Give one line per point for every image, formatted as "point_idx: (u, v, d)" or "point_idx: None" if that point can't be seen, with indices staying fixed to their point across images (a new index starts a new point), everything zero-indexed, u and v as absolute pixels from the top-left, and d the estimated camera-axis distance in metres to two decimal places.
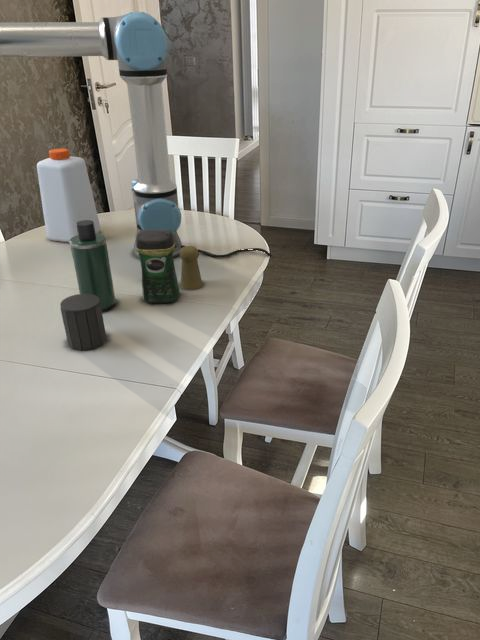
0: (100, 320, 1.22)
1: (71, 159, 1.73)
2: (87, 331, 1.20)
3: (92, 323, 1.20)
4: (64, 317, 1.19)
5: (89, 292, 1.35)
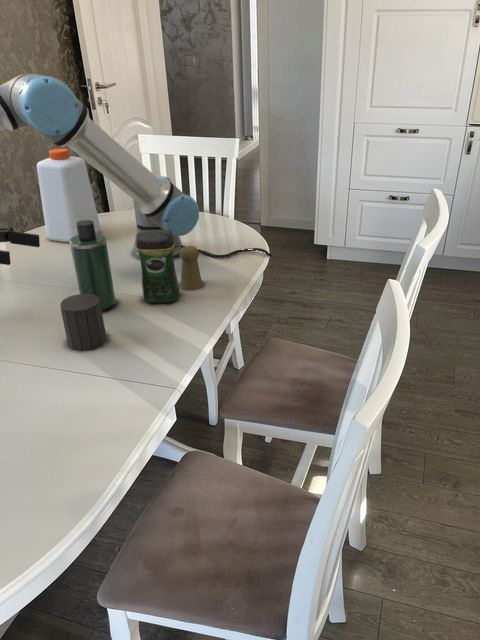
0: (100, 320, 1.22)
1: (71, 159, 1.73)
2: (87, 331, 1.20)
3: (92, 323, 1.20)
4: (64, 317, 1.19)
5: (89, 292, 1.35)
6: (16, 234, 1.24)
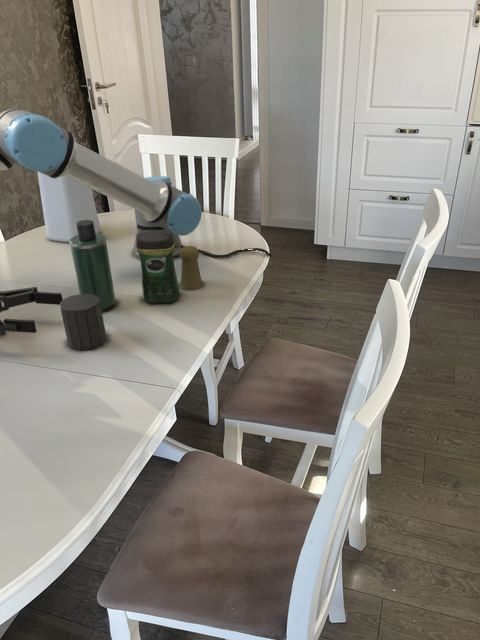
0: (100, 320, 1.22)
1: None
2: (87, 331, 1.20)
3: (92, 323, 1.20)
4: (64, 317, 1.19)
5: (89, 292, 1.35)
6: (40, 294, 1.28)
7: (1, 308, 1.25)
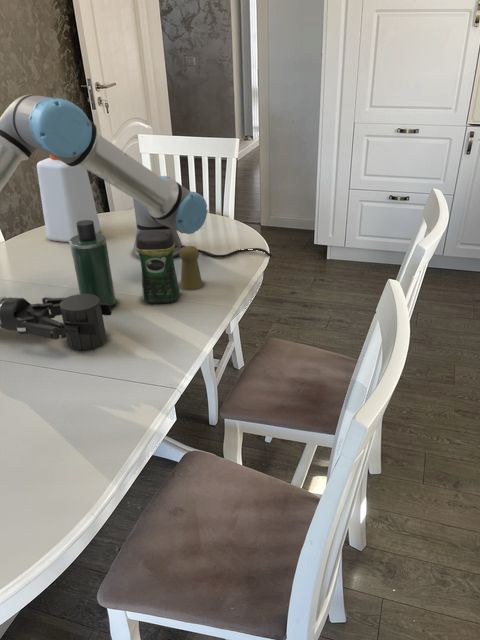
0: (100, 320, 1.22)
1: None
2: None
3: None
4: (64, 317, 1.19)
5: (89, 292, 1.35)
6: None
7: (48, 314, 1.25)
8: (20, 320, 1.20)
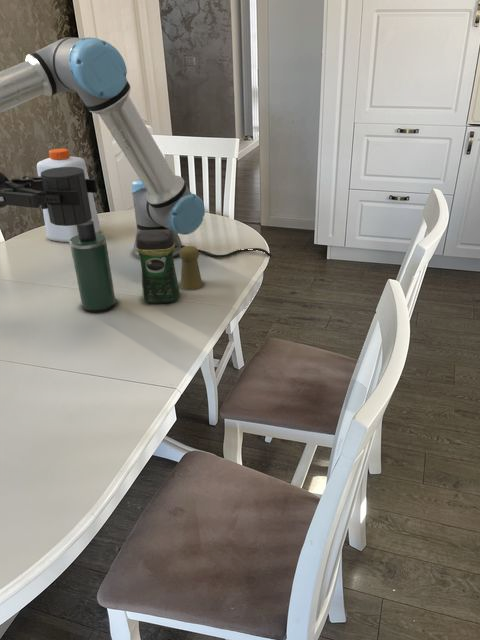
0: (84, 193, 1.13)
1: (71, 159, 1.73)
2: None
3: None
4: (45, 187, 1.10)
5: (89, 292, 1.35)
6: None
7: None
8: None
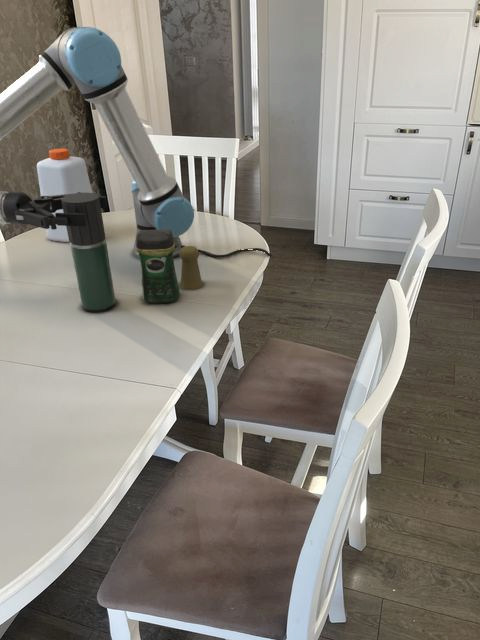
0: (99, 216, 1.28)
1: (71, 159, 1.73)
2: (87, 225, 1.26)
3: (92, 217, 1.26)
4: (65, 211, 1.25)
5: (89, 292, 1.35)
6: None
7: (49, 209, 1.30)
8: (22, 210, 1.26)
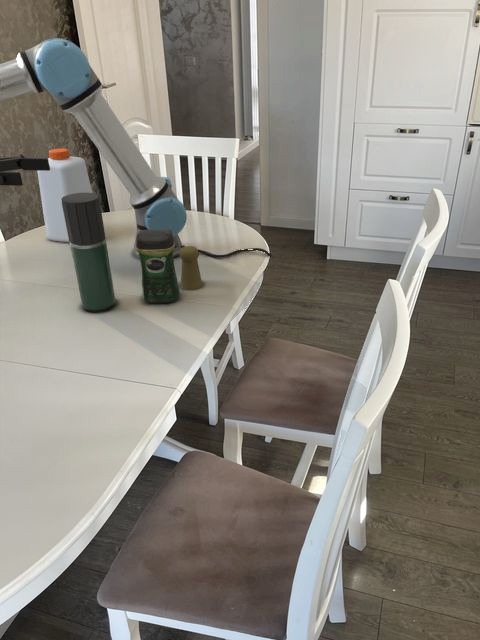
0: (99, 216, 1.28)
1: (71, 159, 1.73)
2: (87, 225, 1.26)
3: (92, 217, 1.26)
4: (65, 211, 1.25)
5: (89, 292, 1.35)
6: (27, 160, 1.30)
7: None
8: None
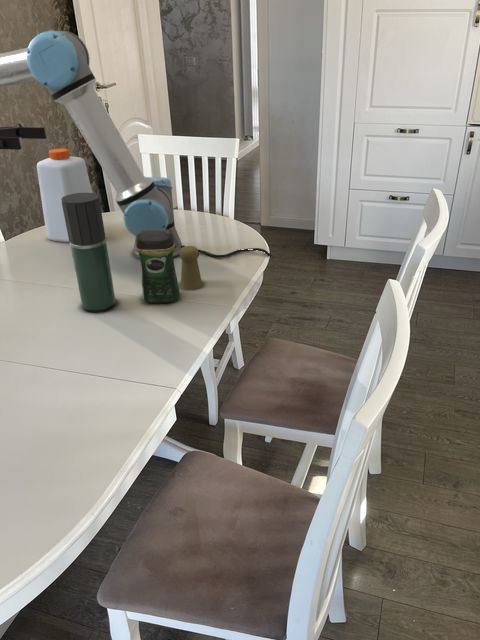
0: (99, 216, 1.28)
1: (71, 159, 1.73)
2: (87, 225, 1.26)
3: (92, 217, 1.26)
4: (65, 211, 1.25)
5: (89, 292, 1.35)
6: (25, 129, 1.42)
7: None
8: None
